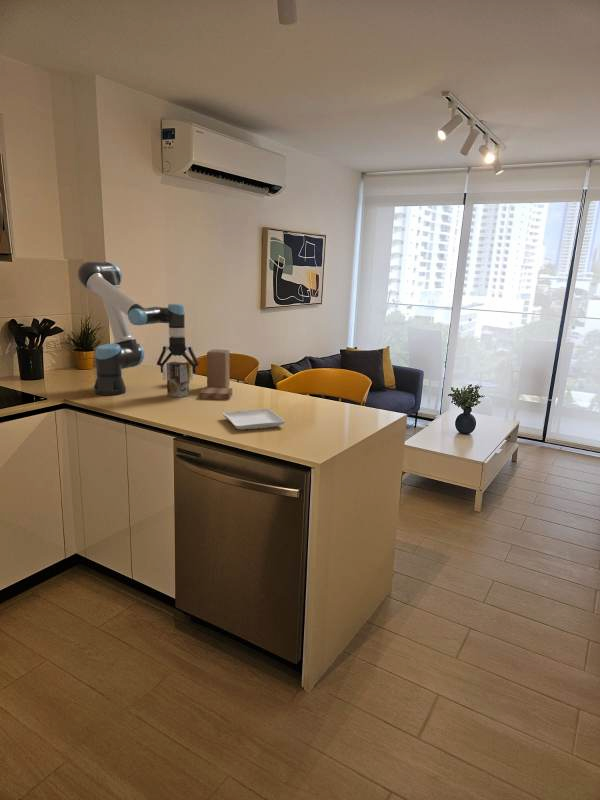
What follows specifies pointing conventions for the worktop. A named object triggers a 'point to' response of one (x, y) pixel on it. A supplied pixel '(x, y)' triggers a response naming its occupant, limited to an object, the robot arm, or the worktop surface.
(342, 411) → the worktop surface
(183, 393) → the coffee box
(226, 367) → the block
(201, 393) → the walnut riser
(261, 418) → the salad plate
